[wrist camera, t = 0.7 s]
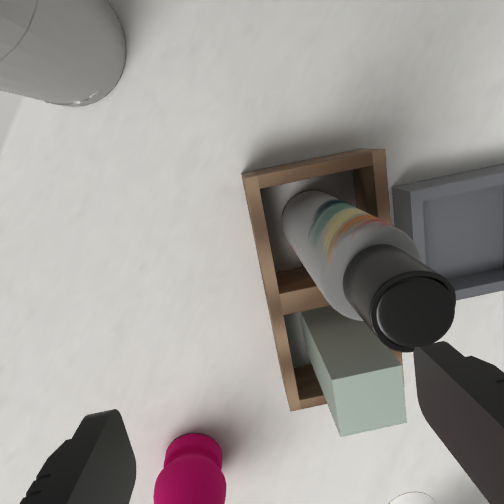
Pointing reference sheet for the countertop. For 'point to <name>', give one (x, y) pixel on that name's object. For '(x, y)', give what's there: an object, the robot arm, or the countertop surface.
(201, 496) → the pepper mill
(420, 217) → the tray
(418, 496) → the champagne flute
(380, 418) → the grey-green block
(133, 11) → the countertop surface
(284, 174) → the frame
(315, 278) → the lotion bottle
